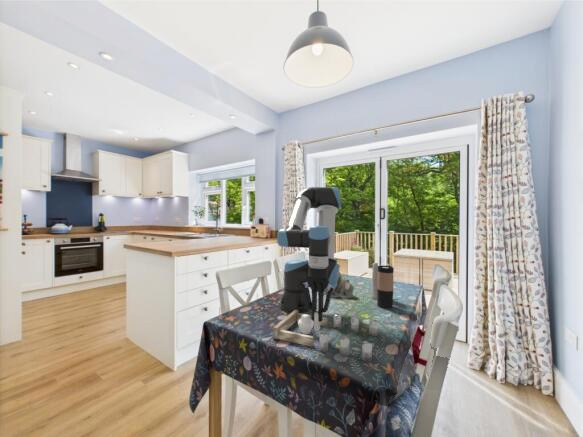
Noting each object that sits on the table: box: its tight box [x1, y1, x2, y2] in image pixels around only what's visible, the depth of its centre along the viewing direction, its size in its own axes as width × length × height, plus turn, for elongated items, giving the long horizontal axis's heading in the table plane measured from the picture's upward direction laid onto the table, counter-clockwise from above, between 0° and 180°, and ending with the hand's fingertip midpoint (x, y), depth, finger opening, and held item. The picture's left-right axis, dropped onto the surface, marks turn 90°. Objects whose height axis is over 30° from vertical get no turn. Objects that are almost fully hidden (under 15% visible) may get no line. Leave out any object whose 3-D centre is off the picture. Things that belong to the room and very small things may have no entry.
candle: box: [371, 262, 379, 300], centre depth 142 cm, size 7×14×20 cm, turn 89°
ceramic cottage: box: [324, 271, 355, 299], centre depth 147 cm, size 16×16×15 cm
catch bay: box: [273, 310, 329, 348], centre depth 99 cm, size 15×20×4 cm
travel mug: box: [376, 264, 395, 310], centre depth 129 cm, size 8×8×20 cm
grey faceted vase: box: [297, 313, 314, 335], centre depth 98 cm, size 6×6×7 cm
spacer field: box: [318, 313, 378, 363], centre depth 91 cm, size 17×22×5 cm
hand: (317, 329), depth 96 cm, fingers closed
